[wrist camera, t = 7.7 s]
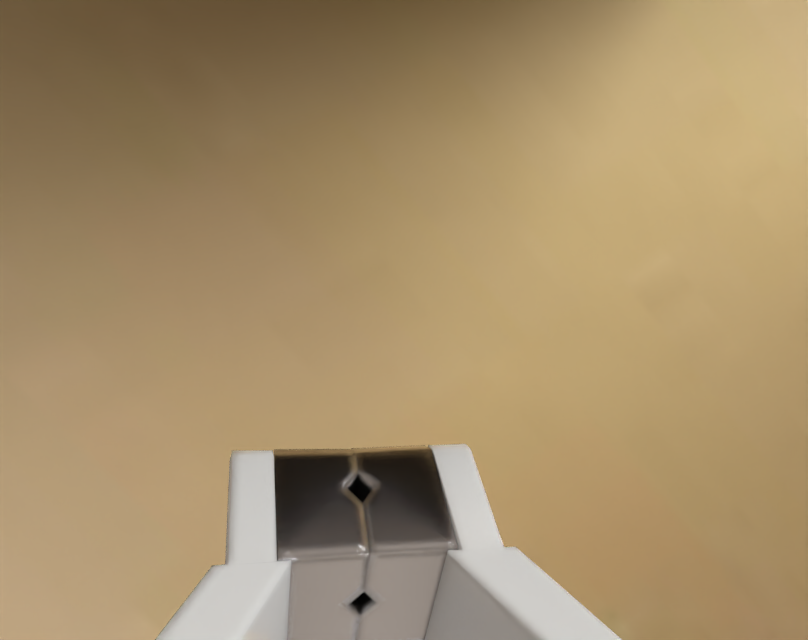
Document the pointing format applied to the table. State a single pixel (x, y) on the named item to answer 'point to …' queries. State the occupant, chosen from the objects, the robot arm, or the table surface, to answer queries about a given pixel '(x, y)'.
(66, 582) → the table surface
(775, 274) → the table surface
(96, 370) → the table surface
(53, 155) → the table surface
